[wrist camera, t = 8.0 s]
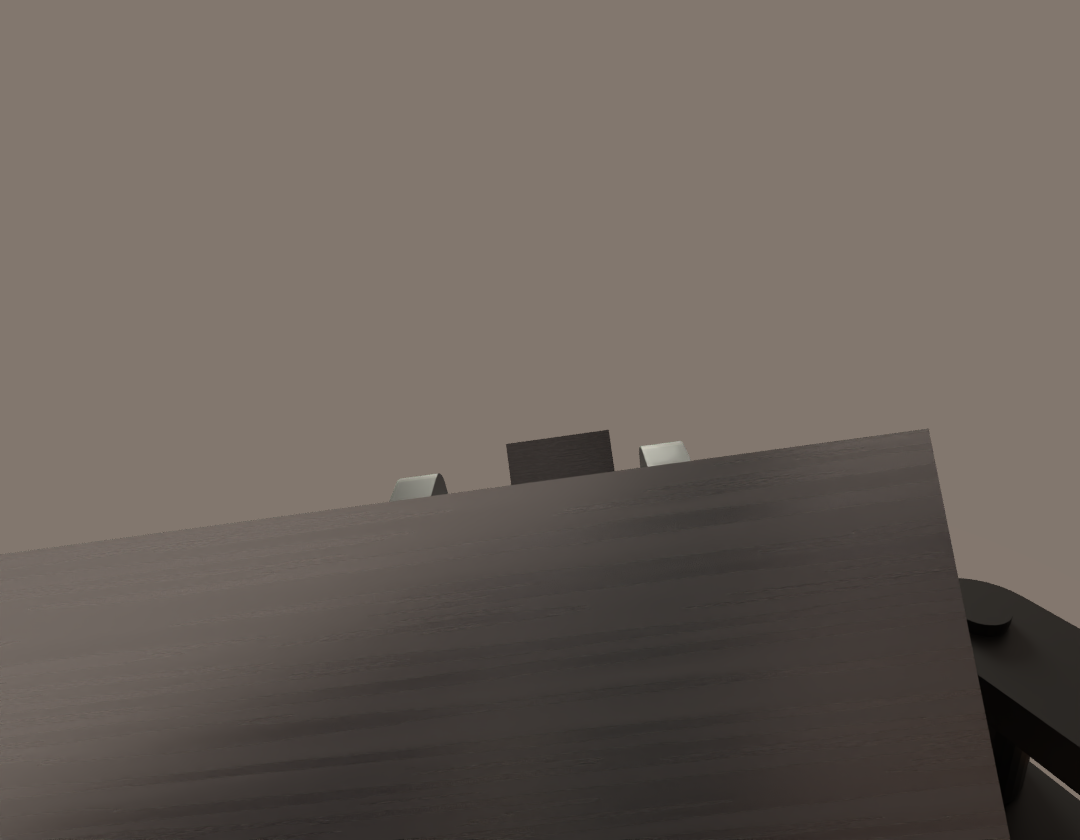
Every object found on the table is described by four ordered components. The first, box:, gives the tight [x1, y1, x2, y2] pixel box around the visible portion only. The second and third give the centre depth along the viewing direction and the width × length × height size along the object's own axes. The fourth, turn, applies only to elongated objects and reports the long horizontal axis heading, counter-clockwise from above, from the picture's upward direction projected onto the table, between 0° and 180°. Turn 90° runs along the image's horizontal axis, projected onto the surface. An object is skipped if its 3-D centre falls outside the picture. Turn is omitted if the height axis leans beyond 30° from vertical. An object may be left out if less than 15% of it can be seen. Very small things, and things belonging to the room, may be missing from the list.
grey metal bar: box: [0, 429, 1010, 840], centre depth 14 cm, size 25×4×5 cm, turn 176°
